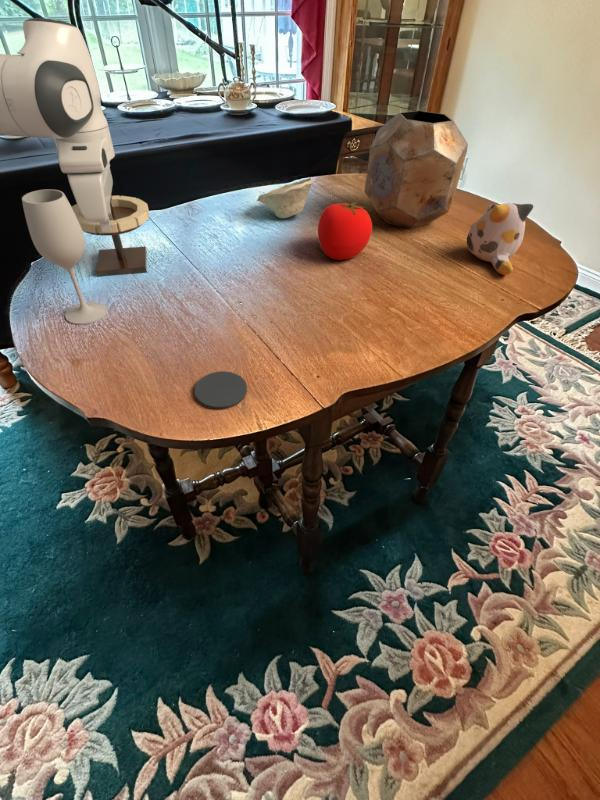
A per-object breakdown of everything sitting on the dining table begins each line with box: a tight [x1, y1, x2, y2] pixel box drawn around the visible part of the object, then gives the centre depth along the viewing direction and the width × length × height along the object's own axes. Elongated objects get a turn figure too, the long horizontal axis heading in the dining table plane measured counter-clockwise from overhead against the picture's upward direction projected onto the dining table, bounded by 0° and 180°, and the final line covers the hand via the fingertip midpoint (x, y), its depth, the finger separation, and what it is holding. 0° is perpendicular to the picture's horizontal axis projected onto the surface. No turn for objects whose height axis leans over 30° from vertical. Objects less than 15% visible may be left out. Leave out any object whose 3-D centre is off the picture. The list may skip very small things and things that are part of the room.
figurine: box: [466, 202, 534, 276], centre depth 97 cm, size 12×17×15 cm
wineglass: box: [21, 188, 108, 326], centre depth 73 cm, size 8×8×21 cm
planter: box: [364, 110, 469, 229], centre depth 110 cm, size 22×24×24 cm
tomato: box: [317, 201, 373, 261], centre depth 98 cm, size 12×14×11 cm
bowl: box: [256, 177, 315, 219], centre depth 113 cm, size 15×14×10 cm
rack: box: [82, 195, 148, 278], centre depth 89 cm, size 13×13×15 cm
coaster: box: [194, 370, 248, 410], centre depth 67 cm, size 8×8×1 cm
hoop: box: [71, 195, 150, 234], centre depth 87 cm, size 15×15×2 cm
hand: (107, 227), depth 83 cm, fingers closed on hoop, 2 cm apart
